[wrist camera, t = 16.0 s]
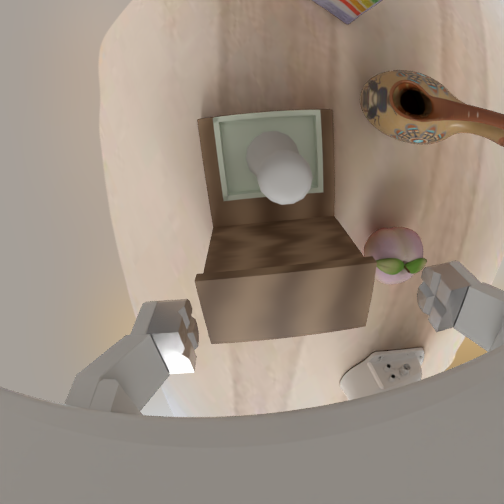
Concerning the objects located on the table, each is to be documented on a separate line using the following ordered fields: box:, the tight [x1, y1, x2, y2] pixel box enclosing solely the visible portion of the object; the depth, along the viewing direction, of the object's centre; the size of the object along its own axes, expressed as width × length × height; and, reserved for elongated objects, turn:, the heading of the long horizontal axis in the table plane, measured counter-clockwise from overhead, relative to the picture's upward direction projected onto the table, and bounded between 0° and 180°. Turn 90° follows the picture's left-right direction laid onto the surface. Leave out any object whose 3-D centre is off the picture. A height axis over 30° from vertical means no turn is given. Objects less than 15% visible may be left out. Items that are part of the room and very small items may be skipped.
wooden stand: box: [195, 109, 377, 344], centre depth 31 cm, size 17×22×16 cm
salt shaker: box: [246, 131, 313, 205], centre depth 26 cm, size 6×6×13 cm
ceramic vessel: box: [360, 70, 504, 147], centre depth 21 cm, size 16×9×25 cm, turn 91°
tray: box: [213, 110, 323, 201], centre depth 32 cm, size 12×10×2 cm
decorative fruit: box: [364, 227, 427, 284], centre depth 38 cm, size 9×8×10 cm
